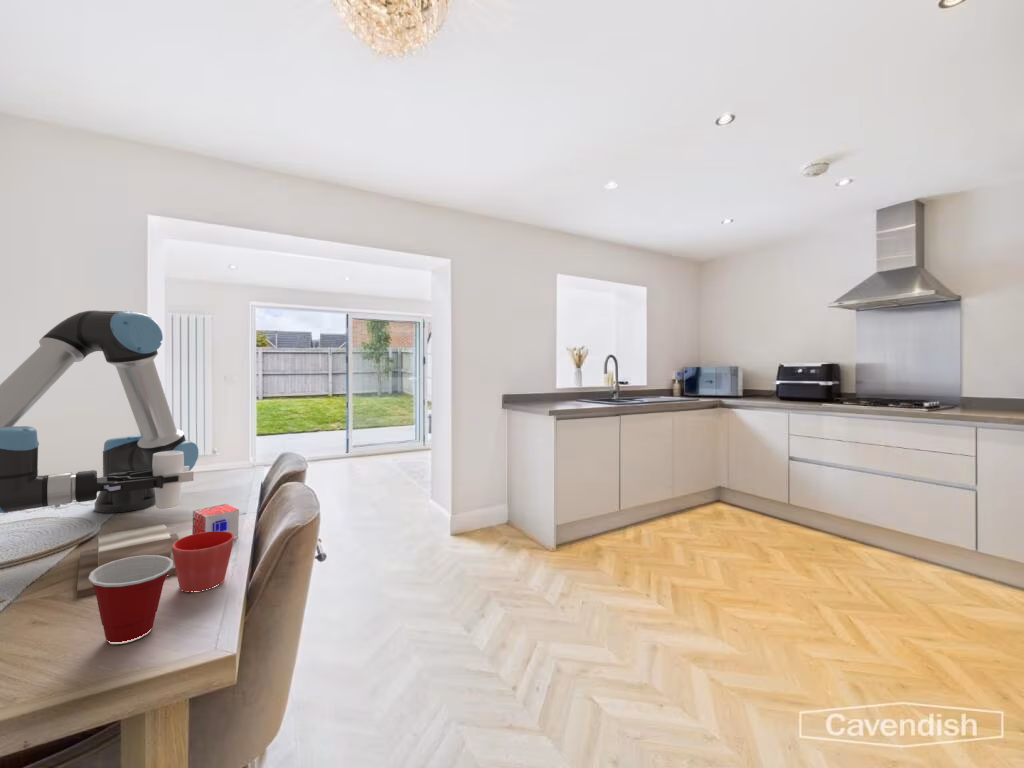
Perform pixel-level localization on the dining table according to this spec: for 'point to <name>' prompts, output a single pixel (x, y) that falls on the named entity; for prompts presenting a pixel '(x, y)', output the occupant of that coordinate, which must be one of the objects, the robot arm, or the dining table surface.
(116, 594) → the plastic cup
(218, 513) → the red patterned cube
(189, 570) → the flower pot
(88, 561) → the display stand
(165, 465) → the drinking glass
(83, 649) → the dining table surface
